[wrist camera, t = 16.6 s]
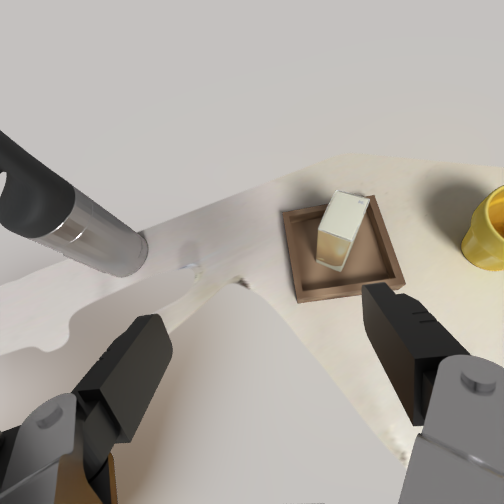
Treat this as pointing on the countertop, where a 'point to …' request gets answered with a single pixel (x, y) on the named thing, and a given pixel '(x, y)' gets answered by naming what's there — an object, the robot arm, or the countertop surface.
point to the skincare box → (339, 229)
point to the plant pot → (487, 233)
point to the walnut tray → (357, 264)
